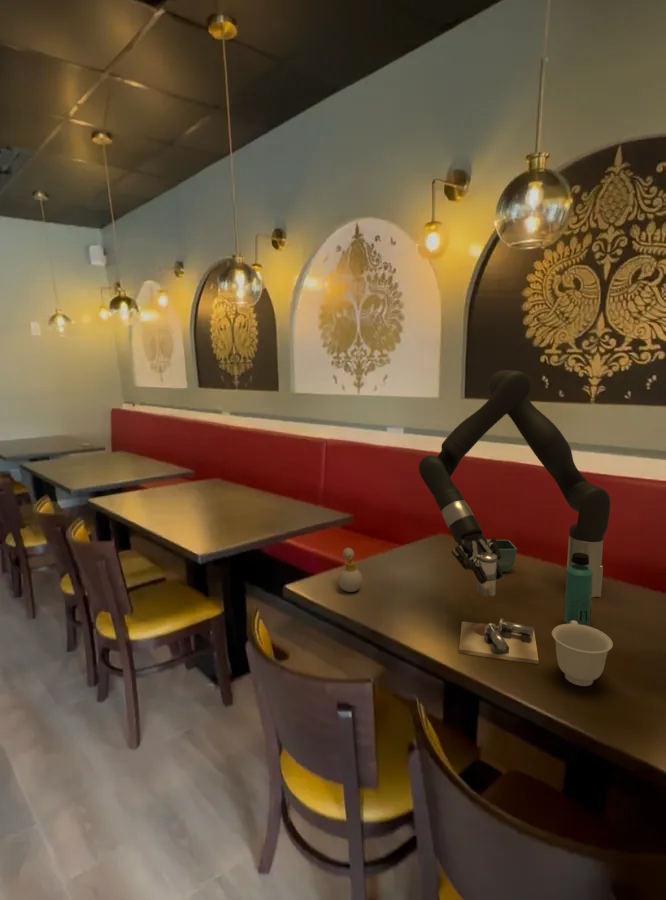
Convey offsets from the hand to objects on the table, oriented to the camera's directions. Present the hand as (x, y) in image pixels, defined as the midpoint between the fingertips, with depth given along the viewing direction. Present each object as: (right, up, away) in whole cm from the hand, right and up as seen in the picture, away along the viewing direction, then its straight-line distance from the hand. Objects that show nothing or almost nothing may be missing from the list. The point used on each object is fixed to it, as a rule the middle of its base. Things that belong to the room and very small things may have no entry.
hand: (492, 579), depth 131 cm
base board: (+1, -16, 0) cm, 16 cm away
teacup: (+15, -18, -14) cm, 27 cm away
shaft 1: (0, -15, -3) cm, 16 cm away
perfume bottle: (-35, -11, +32) cm, 49 cm away
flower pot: (+16, -8, +45) cm, 48 cm away
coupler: (-1, -4, +2) cm, 5 cm away
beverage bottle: (+24, -14, +7) cm, 29 cm away
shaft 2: (+6, -14, +1) cm, 16 cm away
